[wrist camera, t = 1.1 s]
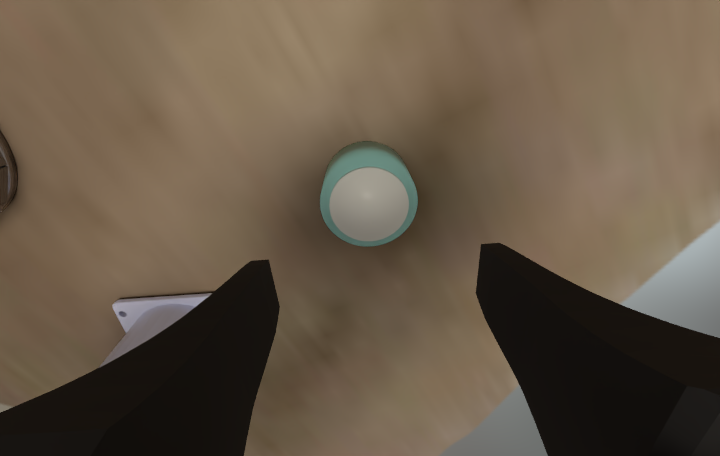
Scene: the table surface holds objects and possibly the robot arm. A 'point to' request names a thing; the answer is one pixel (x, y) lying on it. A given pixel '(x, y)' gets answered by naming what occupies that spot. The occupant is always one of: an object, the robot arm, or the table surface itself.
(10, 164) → the faceted ring bowl
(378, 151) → the cap
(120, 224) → the table surface
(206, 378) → the robot arm
